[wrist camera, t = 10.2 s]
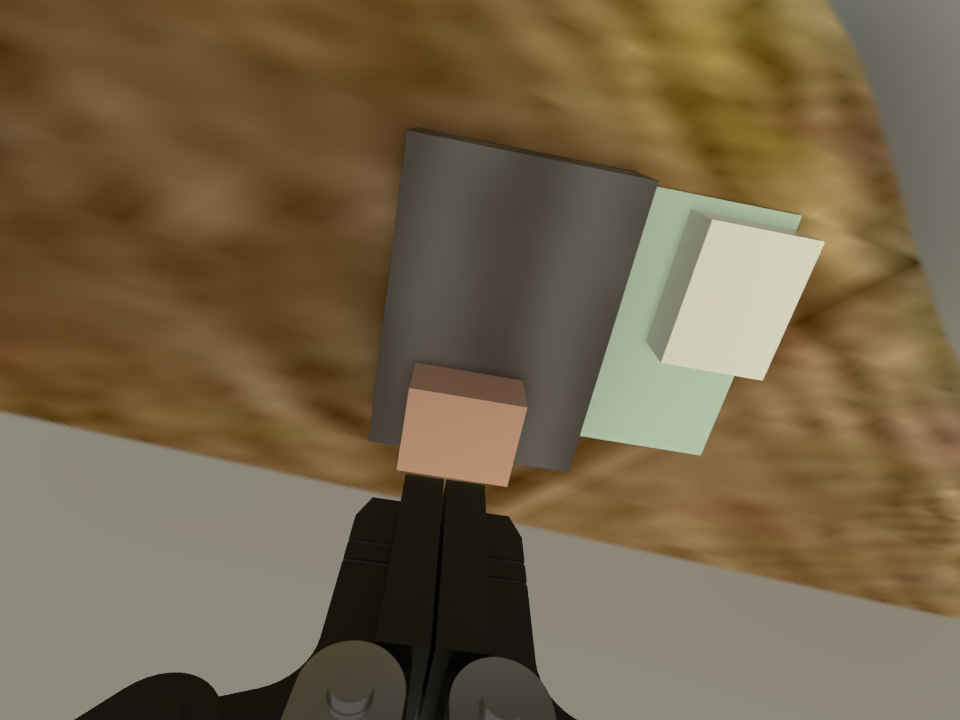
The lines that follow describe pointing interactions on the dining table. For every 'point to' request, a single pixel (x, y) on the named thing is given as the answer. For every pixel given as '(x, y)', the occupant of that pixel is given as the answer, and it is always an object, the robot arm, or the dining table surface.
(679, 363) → the cream tile
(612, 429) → the mat
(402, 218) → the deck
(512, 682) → the robot arm
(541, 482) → the dining table surface
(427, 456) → the salmon pink block
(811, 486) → the dining table surface
